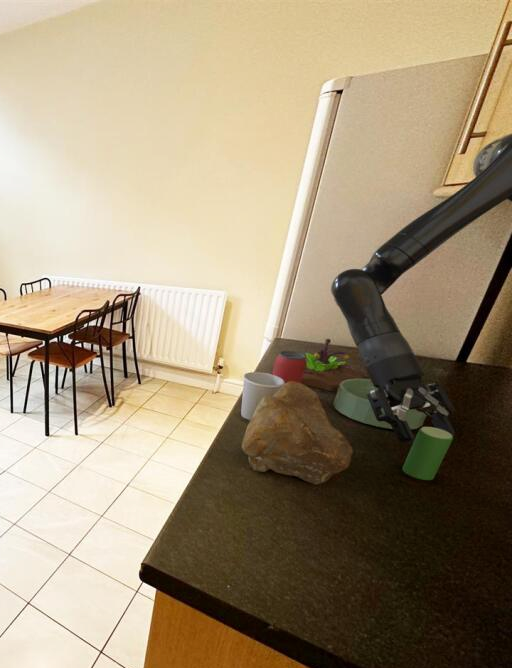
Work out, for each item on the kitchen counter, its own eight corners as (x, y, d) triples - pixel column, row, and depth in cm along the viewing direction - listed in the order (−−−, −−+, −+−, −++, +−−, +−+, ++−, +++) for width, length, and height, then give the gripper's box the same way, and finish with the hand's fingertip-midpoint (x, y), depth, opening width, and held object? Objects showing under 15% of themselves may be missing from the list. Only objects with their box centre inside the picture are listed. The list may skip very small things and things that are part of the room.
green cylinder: (415, 465, 81) (433, 425, 77) (440, 478, 77) (460, 437, 73) (395, 467, 80) (413, 427, 76) (420, 481, 76) (439, 439, 72)
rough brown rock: (321, 518, 69) (360, 444, 63) (220, 470, 80) (244, 402, 73) (348, 464, 84) (382, 400, 77) (260, 429, 95) (283, 370, 88)
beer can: (265, 390, 113) (276, 349, 108) (294, 394, 110) (306, 352, 106) (267, 400, 108) (278, 357, 103) (297, 404, 105) (310, 360, 100)
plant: (363, 374, 120) (376, 338, 116) (359, 398, 107) (373, 357, 103) (283, 360, 133) (292, 326, 128) (270, 379, 120) (280, 342, 115)
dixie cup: (282, 423, 97) (293, 384, 92) (248, 425, 96) (257, 386, 92) (259, 407, 104) (268, 370, 100) (227, 409, 104) (235, 372, 100)
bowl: (372, 397, 107) (379, 376, 105) (441, 428, 93) (452, 404, 90) (316, 403, 105) (323, 381, 103) (378, 435, 91) (388, 411, 88)
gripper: (374, 354, 77) (415, 438, 72) (439, 349, 79) (485, 430, 73) (340, 370, 84) (375, 448, 79) (401, 365, 86) (439, 440, 80)
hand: (428, 439), depth 76 cm, fingers open, 8 cm apart
